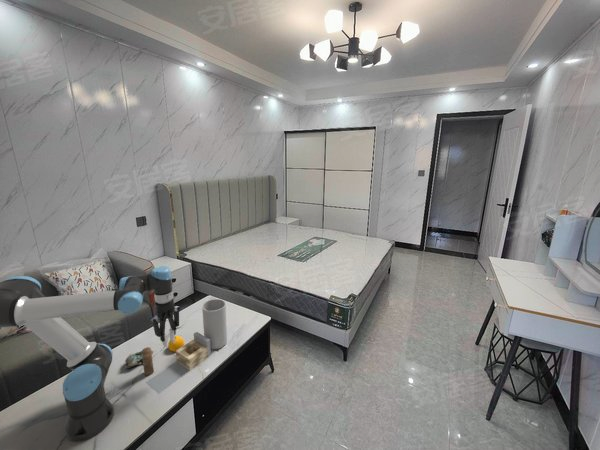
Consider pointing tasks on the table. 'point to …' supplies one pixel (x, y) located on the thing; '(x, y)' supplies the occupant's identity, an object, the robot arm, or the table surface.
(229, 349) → the table surface
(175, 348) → the orange
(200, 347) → the block
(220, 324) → the cylinder vase
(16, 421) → the table surface
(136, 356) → the mineral specimen
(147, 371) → the dowel
